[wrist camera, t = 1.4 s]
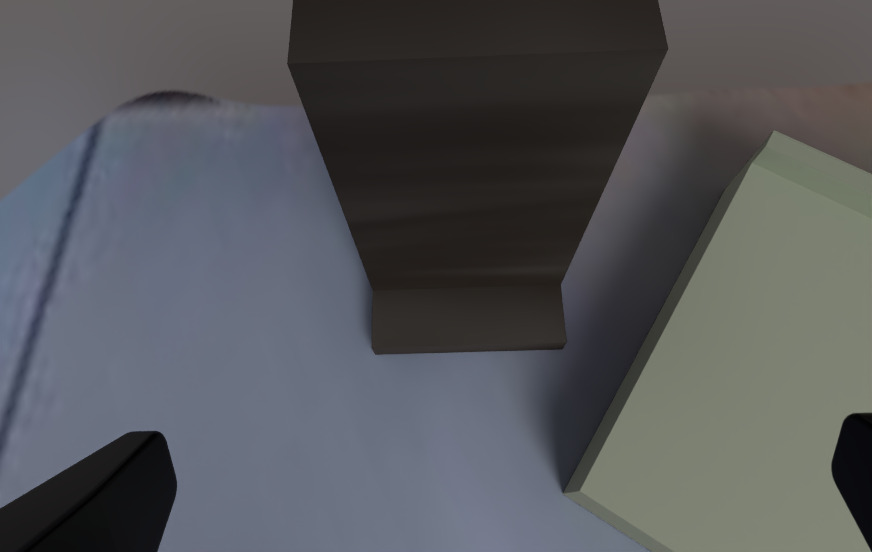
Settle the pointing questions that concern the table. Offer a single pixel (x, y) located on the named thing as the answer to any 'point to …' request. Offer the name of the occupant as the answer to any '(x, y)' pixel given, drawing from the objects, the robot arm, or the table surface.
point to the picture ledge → (748, 372)
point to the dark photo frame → (471, 151)
